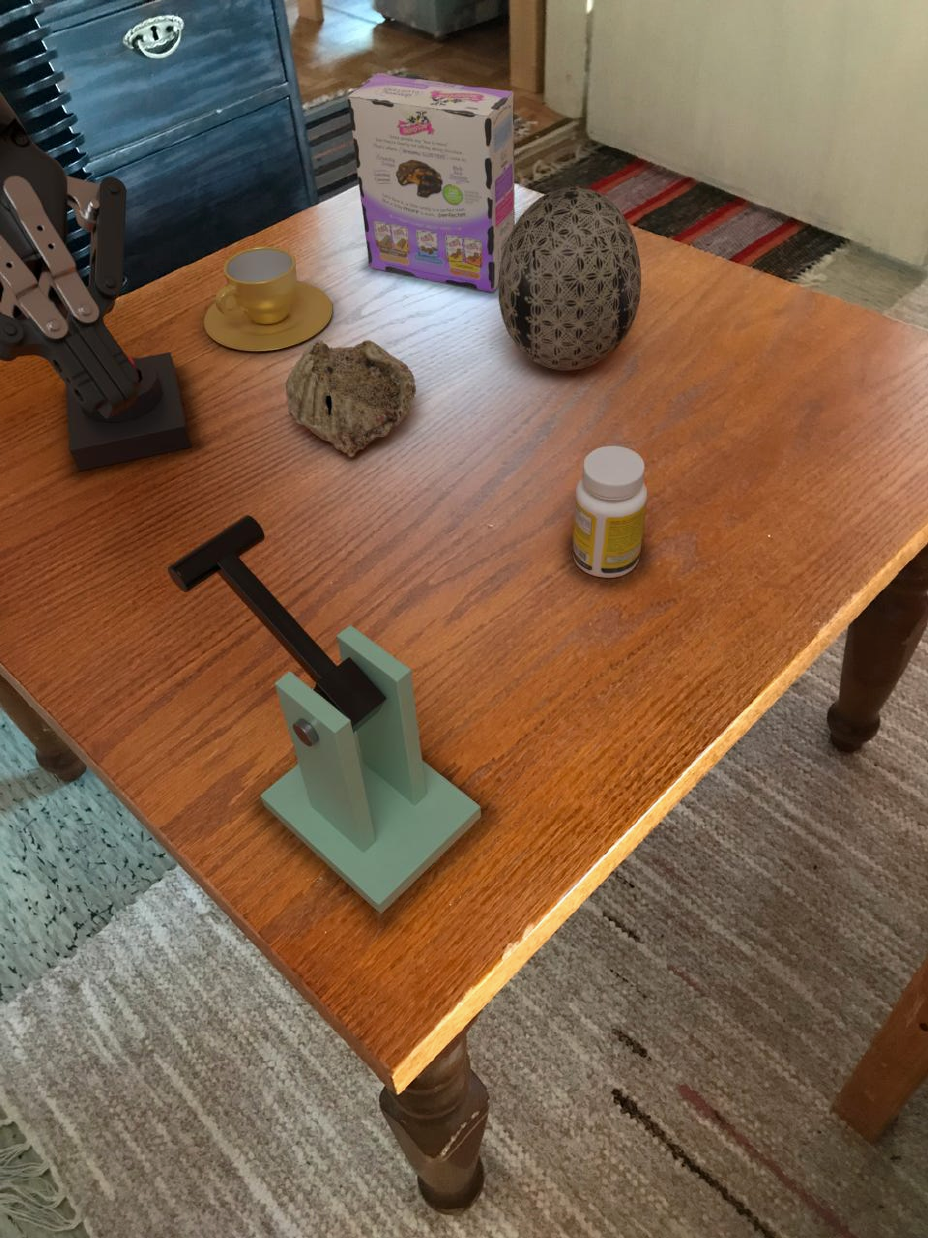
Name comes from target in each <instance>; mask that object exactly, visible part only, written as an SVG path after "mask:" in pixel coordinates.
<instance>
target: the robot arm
mask: <svg viewBox="0 0 928 1238" xmlns="http://www.w3.org/2000/svg"><path fill="white" fill-rule="evenodd" d="M3 95H4V94H3V93H1V91H0V361H2V362H13V361H14V360H16V359H18V358H19V357H28V356H38V357H41V358H43V359H45V360H46V361H47V362H48V363H49V364H50V365H51V367H52V368H53V369H54V371H55V372H56V374H57V375H58V376H59V378H60V379H61V380H62V382H63V383H64V385H65V384H66V386H67V387H68V388H69V390H70V391H71V393H72V394H73V395H74V397H75V398H76V400H77V401H78V402H79V404H80V405H81V406H82V407H83V408H85V409H86V410H88V411H89V412H90V413H92V412H94V411H96V410H99V412H100V413H101V414H102V415H103V417H105V418H106V419H108V418H110V417H112V416H113V415H115V414H117V413H119V412H120V411H122V410H124V409H126V408H128V407H129V406H131V405H133V403H134V402H135V400H136V399H137V397H138V392H137V390H136V388H135V387H136V385H137V383H138V382H139V378H138V374H137V370H136V369H135V367H134V366H133V364H132V363H131V361H130V360H129V359H128V357H127V356H126V355H127V354H126V352H124V350H123V348H121V346H120V344H119V343H118V341H117V340H116V339H115V337H114V335H113V334H112V333H111V331H110V330H109V329H108V327H107V326H106V324H105V321H104V320H105V319H104V317H105V316H106V315H108V314H110V313H111V312H112V311H113V309H114V308H115V305H116V302H117V301H116V300H117V299H118V297H119V296H120V294H121V292H122V290H123V288H124V266H125V265H124V264H125V241H126V240H125V239H126V238H125V237H126V217H127V215H126V213H127V212H126V210H127V188H126V185H125V183H124V182H123V181H122V180H121V179H119V178H117V177H115V176H106V177H104V178H102V180H100V183H97V182H93V181H90V180H85V179H81V178H77V177H73V176H69V175H67V174H66V171H65V170H64V168H63V166H62V165H61V163H60V162H59V161H58V160H56V159H55V158H54V157H52V156H51V155H49V154H48V153H46V152H45V151H44V150H42V149H41V148H40V147H38V146H37V145H36V144H35V143H34V142H33V140H32V139H31V137H30V135H29V134H28V132H27V130H26V128H25V127H24V125H23V124H22V121H21V120H20V119H19V117H18V115H17V113H15V111H14V110H13V107H11V105H10V104H9V102H8V101H7V99H6V98H5V97H4V96H3ZM68 206H69V207H70V208H72V210H73V211H74V213H75V218H76V221H77V224H78V226H80V228H82V229H83V230H84V231H86V232H90V248H89V250H90V251H89V271H88V272H89V273H88V287H87V286H86V285H85V283H84V281H83V280H82V278H81V276H80V274H79V272H78V267H77V264H76V262H75V260H74V258H73V255H72V254H71V253H70V251H69V249H68V248H67V242H68ZM66 386H65V387H66Z"/></svg>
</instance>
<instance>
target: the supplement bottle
mask: <svg viewBox="0 0 928 1238" xmlns="http://www.w3.org/2000/svg"><path fill="white" fill-rule="evenodd" d="M644 480H645V462H644V460H643V458H642V456H640V454H639V453H638V452H637V451H634V450H633V449H631V448H627V447H626V446H620V445H606V446H605V445H604V446H601V447H598V448H597V447H596V448H595V449H593V450H591V451H590V452H589V453H588V454H587V455H586V456H585V458H584V459H583V463H582V473H581V478H580V479H579V481H578V483H577V485H576V488H575V497H574V515H573V516H574V517H573V533H572V534H573V535H572V557H573V560H574V562H575V564H576V565H577V567H578V568H579V569H581V570H582V571H583V572H584V573H585V574H588V575H590V576H594V577H597V578H603V579H604V578H605V579H613V578H614V579H615V578H619V577H622V576H625V575H627V574H629V573H631V572H632V571H633V570H634V569H635V568H636V566H637V564H638V563H639V561H640V556H641V552H642V551H641V549H642V542H643V535H644V527H645V520H646V519H645V518H646V509H647V503H648V502H647V501H648V490H647V485H646V484H645V482H644Z"/></svg>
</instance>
